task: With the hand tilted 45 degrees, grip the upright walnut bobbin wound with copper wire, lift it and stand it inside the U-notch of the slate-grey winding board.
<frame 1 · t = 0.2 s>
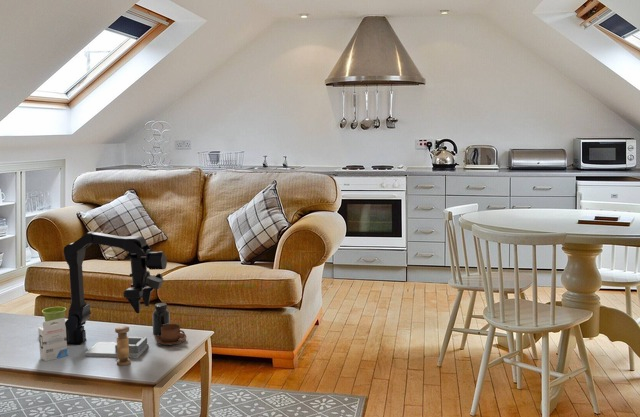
hand: (142, 309, 262), 14 cm above the table, tool pointing down, fingers open, 9 cm apart
board: (117, 351, 258), on the table
ink box: (53, 357, 252), on the table
supplement bottle: (161, 333, 279), on the table
bobbin: (123, 363, 246), on the table
plant pot: (55, 330, 283), on the table
cup and saucer: (171, 342, 269), on the table
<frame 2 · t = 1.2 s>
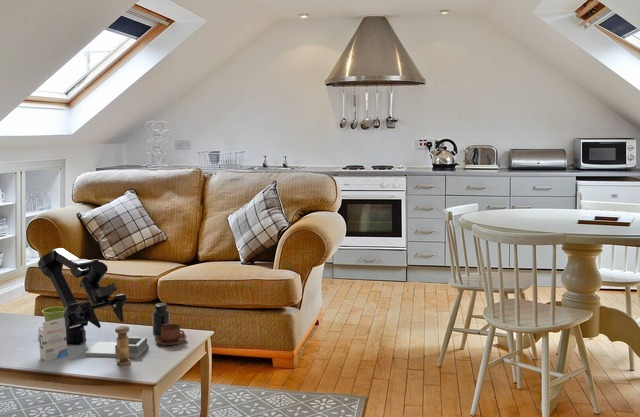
hand: (111, 324, 249), 13 cm above the table, tool tilted 45°, fingers open, 9 cm apart
nothing on the table moved.
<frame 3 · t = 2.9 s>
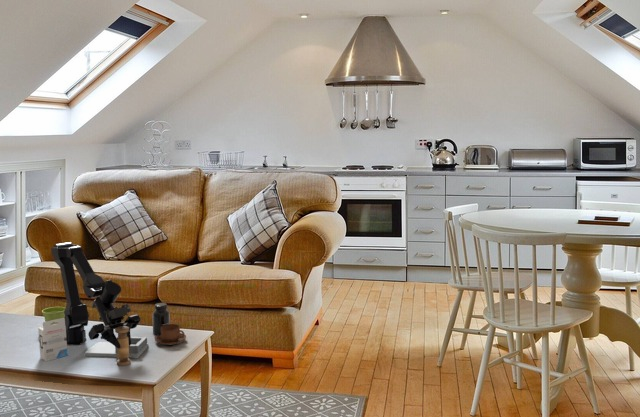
hand: (125, 346, 244), 7 cm above the table, tool tilted 45°, fingers closed on bobbin, 4 cm apart
bobbin: (123, 363, 246), on the table, touching gripper
everything else where it was.
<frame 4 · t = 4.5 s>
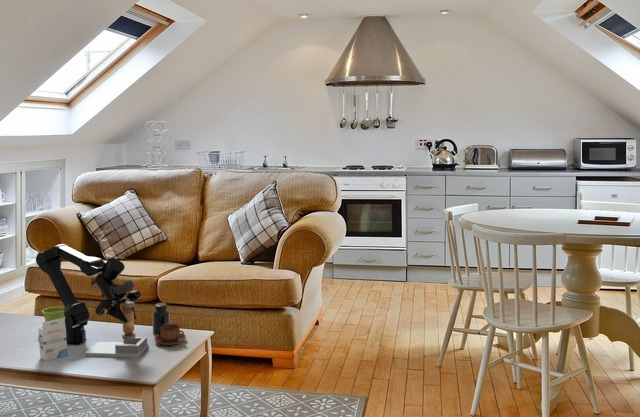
hand: (131, 320, 252), 13 cm above the table, tool tilted 45°, fingers closed on bobbin, 4 cm apart
bobbin: (128, 337, 254), point 7 cm above the table, touching gripper
everything else where it was.
when the fingers open (9 cm above the table, at t = 5.9 s): bobbin stays where it is, resting on board.
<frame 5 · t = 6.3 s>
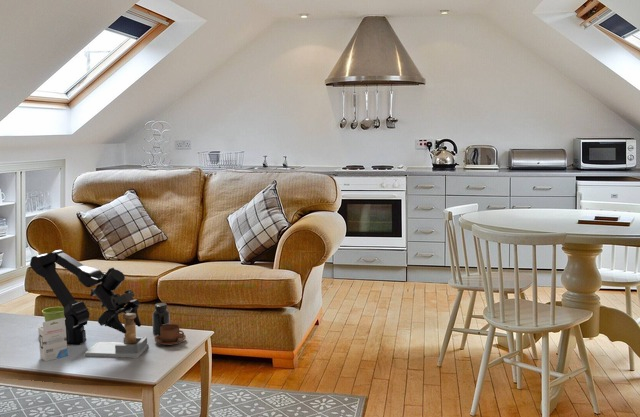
hand: (133, 329, 256), 9 cm above the table, tool tilted 45°, fingers open, 8 cm apart
bobbin: (130, 348, 258), point 1 cm above the table, touching board
everything else where it was.
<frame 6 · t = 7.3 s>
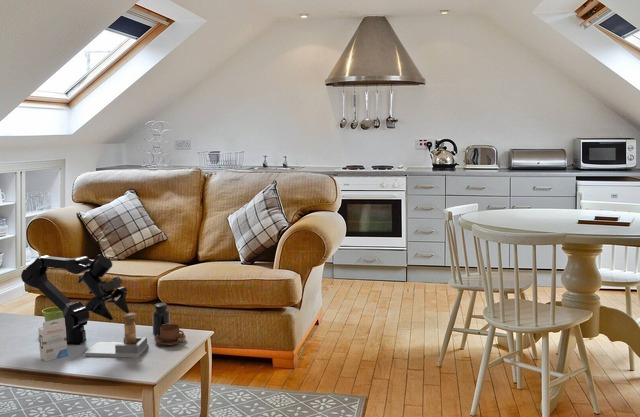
hand: (120, 316, 257), 13 cm above the table, tool tilted 45°, fingers open, 9 cm apart
nothing on the table moved.
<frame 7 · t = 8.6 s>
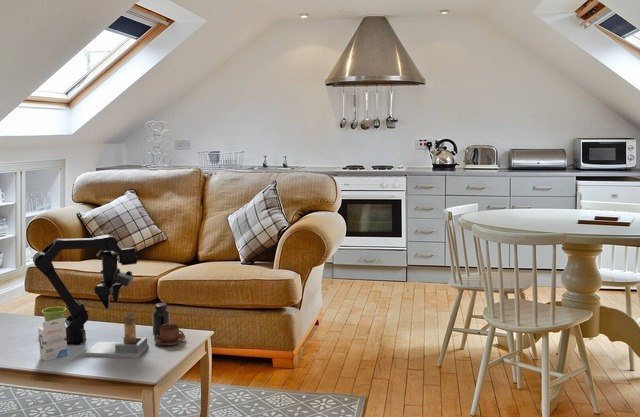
hand: (111, 305, 273), 13 cm above the table, tool pointing down, fingers open, 9 cm apart
nothing on the table moved.
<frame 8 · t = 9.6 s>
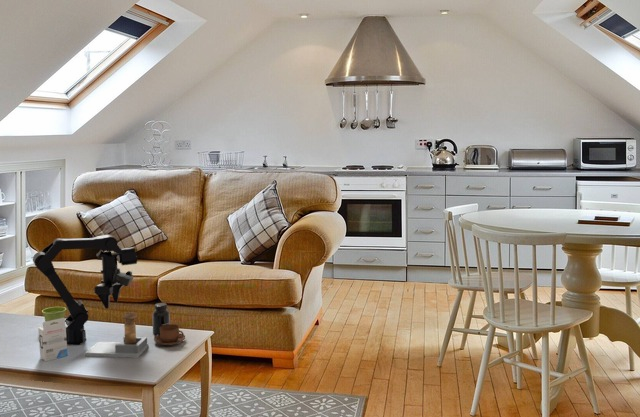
hand: (111, 305, 273), 13 cm above the table, tool pointing down, fingers open, 9 cm apart
nothing on the table moved.
at the end: bobbin inside the target area on the board (0.0 cm from its centre), point 1.2 cm above the board's base; bobbin tilted 0°; the gripper is holding nothing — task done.
